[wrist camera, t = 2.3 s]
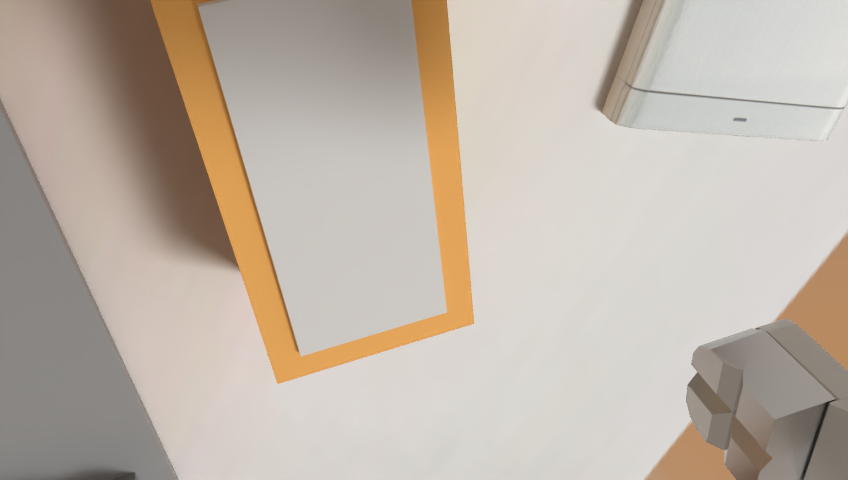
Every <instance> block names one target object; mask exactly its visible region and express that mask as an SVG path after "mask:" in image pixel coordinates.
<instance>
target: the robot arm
mask: <svg viewBox="0 0 848 480" xmlns="http://www.w3.org/2000/svg"><path fill="white" fill-rule="evenodd" d="M691 365H692V366H693V367H694V368H695V369H696V371H697V374H696V375H695V376H694V377H693V379H692V380H691V381H690V382H689V384H688V387H687V396H686V402H687V406H688V410H689V414H690V417H691V419H692V421H693V423H694V424H695V427H696V428H697V430H698V431H699V433H700V434H701V435H702V437H703V438H704V439H705V441H706V442H707V443H710V444H712V445H714V446H716V447H719V448H720V449H723V450H724V451H725V453H724V455H725V466H726V467H727V469H728V470H729V471H730V472H731V474H732V475H733V476H734V477H735V479H736V480H848V371H847V370H846V369H845V368H844V367H843V366H842V365H841V364H840V363H838V362H837V361H836V360H835V359H834V358H833V357H832V356H831V355H830V354H828V352H826V351H825V350H824V349H823V348H822V347H821V346H820V345H819V344H818V343H817V342H816V341H814V340H813V339H812V338H811V337H810V336H809V335H808V334H807V333H806V332H805V331H803V330H802V329H801V328H800V327H799V326H798V325H797V324H796V323H794V322H792V321H790V320H787V319H783V320H779V321H776V322H773V323H770V324H767V325H764V326H761V327H758V328H755V329H749V330H746V331H743V332H740V333H737V334H734V335H731V336H728V337H725V338H722V339H719V340H716V341H713V342H710V343H707V344H704V345H701V346H699V347H698V348H697V349H696V350H695V351H694V353H693V358H692V363H691Z"/></svg>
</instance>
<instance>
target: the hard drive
mask: <svg viewBox="0 0 848 480" xmlns="http://www.w3.org/2000/svg"><path fill="white" fill-rule="evenodd" d="M847 104H848V0H643V2H642V5H641V7H640V10H639V13H638V15H637V18H636V21H635V23H634V26H633V29H632V32H631V34H630V37H629V40H628V42H627V45H626V48H625V51H624V54H623V56H622V59H621V62H620V65H619V67H618V70H617V73H616V76H615V78H614V80H613V83H612V86H611V88H610V91H609V94H608V96H607V99H606V102H605V105H604V107H603V110H602V113H603V114H604V115H605V116H606V117H607V118H608V119H609V120H610V121H612V122H614V123H615V124H617V125H621V126H624V127H629V128H637V129H651V130H663V131H678V132H691V133H707V134H721V135H733V136H747V137H764V138H780V139H795V140H810V141H824V140H827V139H828V138H829V136H830V134H831V132H832V130H833V129H834V127H835V125H836V124H837V122H838V120H839V118H840V116H841V114H842V112H843V111H844V108H845V107H846V105H847Z"/></svg>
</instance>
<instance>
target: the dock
mask: <svg viewBox="0 0 848 480" xmlns="http://www.w3.org/2000/svg"><path fill="white" fill-rule="evenodd" d="M0 480H178V478H177V476H176V473H175V471H174V469H173V467H172V465H171V463H170V461H169V458H168V456H167V454H166V452H165V450H164V448H163V446H162V444H161V441H160V439H159V437H158V435H157V433H156V431H155V429H154V426H153V424H152V422H151V420H150V418H149V416H148V414H147V411H146V409H145V407H144V405H143V403H142V401H141V399H140V397H139V394H138V392H137V390H136V388H135V386H134V384H133V382H132V379H131V377H130V375H129V373H128V371H127V369H126V367H125V365H124V362H123V360H122V358H121V356H120V354H119V352H118V350H117V347H116V345H115V343H114V341H113V339H112V337H111V335H110V332H109V330H108V328H107V326H106V324H105V322H104V320H103V318H102V315H101V313H100V311H99V309H98V307H97V305H96V303H95V300H94V298H93V296H92V294H91V292H90V290H89V288H88V285H87V283H86V281H85V279H84V277H83V275H82V273H81V271H80V268H79V266H78V264H77V262H76V260H75V258H74V256H73V253H72V251H71V249H70V247H69V245H68V243H67V241H66V239H65V236H64V234H63V232H62V230H61V228H60V226H59V224H58V221H57V219H56V217H55V215H54V213H53V211H52V209H51V206H50V204H49V202H48V200H47V198H46V196H45V194H44V192H43V189H42V187H41V185H40V183H39V181H38V179H37V177H36V174H35V172H34V170H33V168H32V166H31V164H30V162H29V159H28V157H27V155H26V153H25V151H24V149H23V147H22V145H21V142H20V140H19V138H18V136H17V134H16V132H15V130H14V127H13V125H12V123H11V121H10V119H9V117H8V115H7V113H6V110H5V108H4V106H3V104H2V102H1V100H0Z"/></svg>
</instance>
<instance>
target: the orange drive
mask: <svg viewBox="0 0 848 480" xmlns="http://www.w3.org/2000/svg"><path fill="white" fill-rule="evenodd" d="M150 2H151V5H152V8H153V11H154V14H155V17H156V20H157V23H158V26H159V29H160V32H161V35H162V38H163V41H164V44H165V47H166V50H167V53H168V56H169V59H170V62H171V65H172V68H173V71H174V74H175V77H176V80H177V83H178V86H179V89H180V92H181V95H182V98H183V101H184V104H185V107H186V110H187V113H188V116H189V119H190V122H191V125H192V128H193V131H194V134H195V137H196V140H197V143H198V146H199V149H200V152H201V155H202V158H203V161H204V164H205V167H206V170H207V173H208V176H209V179H210V182H211V185H212V188H213V191H214V194H215V197H216V200H217V203H218V206H219V209H220V212H221V215H222V218H223V221H224V224H225V227H226V230H227V233H228V236H229V239H230V242H231V245H232V248H233V251H234V254H235V257H236V260H237V263H238V266H239V269H240V272H241V275H242V278H243V281H244V284H245V287H246V290H247V293H248V296H249V299H250V302H251V305H252V308H253V311H254V314H255V317H256V320H257V323H258V326H259V329H260V332H261V335H262V338H263V341H264V344H265V347H266V350H267V353H268V356H269V359H270V362H271V365H272V368H273V371H274V374H275V377H276V380H277V383H278V384H279V383H282V382H285V381H289V380H292V379H295V378H298V377H302V376H305V375H308V374H311V373H315V372H318V371H321V370H324V369H328V368H331V367H334V366H337V365H341V364H344V363H347V362H350V361H354V360H357V359H360V358H363V357H367V356H370V355H373V354H376V353H380V352H383V351H386V350H389V349H393V348H396V347H399V346H402V345H406V344H409V343H412V342H416V341H419V340H422V339H425V338H429V337H432V336H435V335H438V334H442V333H445V332H448V331H451V330H455V329H458V328H461V327H464V326H468V325H471V324H474V316H473V305H472V293H471V281H470V269H469V258H468V246H467V234H466V222H465V210H464V199H463V187H462V175H461V163H460V152H459V140H458V128H457V116H456V104H455V93H454V81H453V69H452V57H451V46H450V34H449V22H448V10H447V0H150Z"/></svg>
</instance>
